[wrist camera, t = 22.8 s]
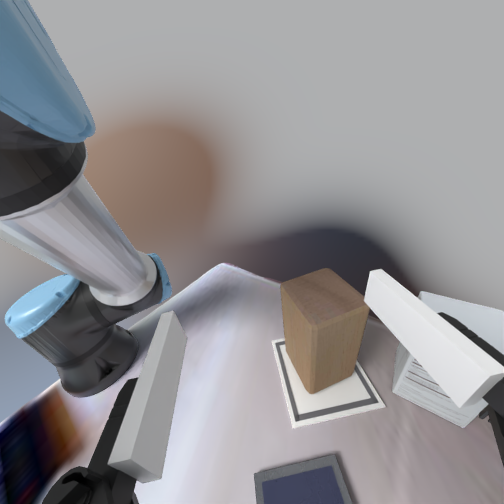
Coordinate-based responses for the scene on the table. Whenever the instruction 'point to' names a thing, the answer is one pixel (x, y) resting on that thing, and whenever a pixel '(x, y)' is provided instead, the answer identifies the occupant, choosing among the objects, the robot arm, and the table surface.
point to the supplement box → (417, 378)
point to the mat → (324, 394)
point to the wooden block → (322, 327)
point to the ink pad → (303, 483)
